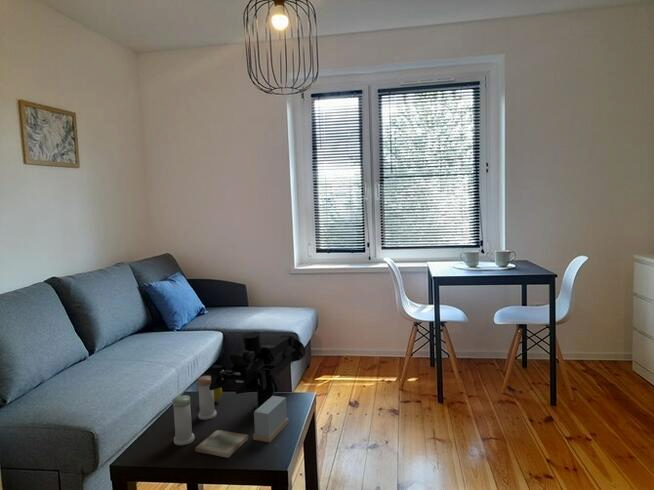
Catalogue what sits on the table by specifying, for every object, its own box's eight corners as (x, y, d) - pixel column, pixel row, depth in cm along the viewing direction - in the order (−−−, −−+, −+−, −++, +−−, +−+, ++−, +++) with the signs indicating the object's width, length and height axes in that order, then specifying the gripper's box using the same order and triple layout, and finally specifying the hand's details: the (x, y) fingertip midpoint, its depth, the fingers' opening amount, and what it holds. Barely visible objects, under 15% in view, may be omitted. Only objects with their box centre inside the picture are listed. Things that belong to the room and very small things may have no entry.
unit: (273, 420, 150) (272, 395, 149) (288, 422, 148) (287, 397, 147) (253, 439, 138) (251, 412, 137) (269, 442, 136) (268, 414, 135)
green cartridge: (182, 434, 143) (179, 393, 142) (198, 436, 141) (195, 395, 140) (169, 443, 137) (166, 401, 136) (186, 446, 135) (183, 404, 134)
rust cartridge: (205, 410, 159) (203, 374, 158) (220, 413, 157) (218, 376, 156) (194, 418, 153) (192, 380, 152) (209, 420, 151) (207, 382, 150)
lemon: (207, 406, 162) (205, 384, 162) (206, 400, 168) (205, 379, 167) (223, 404, 164) (221, 382, 163) (222, 398, 169) (221, 377, 168)
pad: (217, 433, 142) (217, 429, 142) (248, 438, 138) (248, 434, 138) (195, 451, 132) (195, 447, 132) (228, 457, 128) (227, 453, 128)
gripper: (222, 342, 152) (193, 362, 137) (272, 346, 145) (247, 367, 131) (226, 373, 154) (197, 396, 139) (275, 379, 147) (251, 403, 133)
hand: (222, 390), depth 135 cm, fingers open, 9 cm apart
